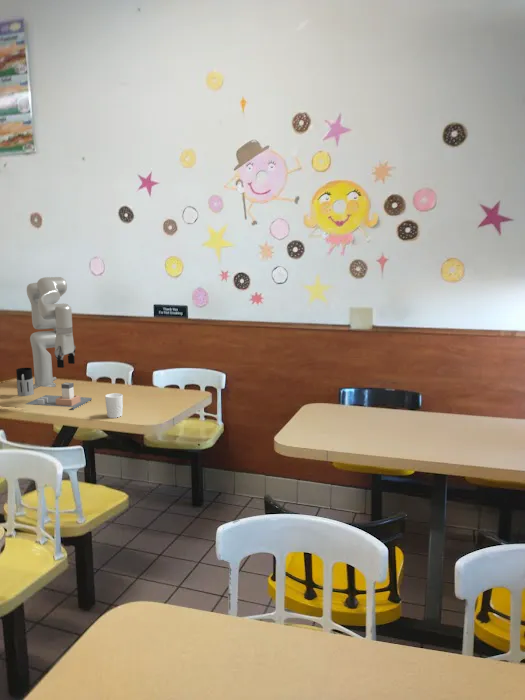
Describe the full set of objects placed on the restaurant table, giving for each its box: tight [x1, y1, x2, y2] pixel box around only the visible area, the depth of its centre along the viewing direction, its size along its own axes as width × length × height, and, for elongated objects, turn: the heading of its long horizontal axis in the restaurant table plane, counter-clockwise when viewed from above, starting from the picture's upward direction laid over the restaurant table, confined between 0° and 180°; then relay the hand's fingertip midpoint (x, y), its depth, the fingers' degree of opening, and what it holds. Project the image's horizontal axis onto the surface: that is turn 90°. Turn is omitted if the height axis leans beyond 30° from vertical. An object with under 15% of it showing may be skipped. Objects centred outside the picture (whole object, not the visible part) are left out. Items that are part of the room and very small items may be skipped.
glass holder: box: [15, 367, 35, 397], centre depth 284 cm, size 9×14×15 cm, turn 18°
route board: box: [25, 394, 92, 411], centre depth 274 cm, size 18×26×4 cm
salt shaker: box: [60, 381, 75, 399], centre depth 270 cm, size 4×4×10 cm
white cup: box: [104, 392, 124, 419], centre depth 254 cm, size 8×8×10 cm
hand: (66, 365), depth 267 cm, fingers open, 9 cm apart
